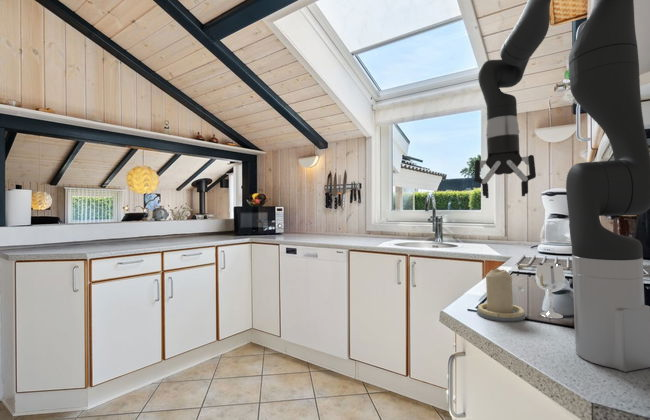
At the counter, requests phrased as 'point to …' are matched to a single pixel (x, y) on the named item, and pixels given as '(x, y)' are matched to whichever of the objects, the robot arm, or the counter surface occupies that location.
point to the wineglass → (550, 283)
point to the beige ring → (501, 314)
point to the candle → (499, 291)
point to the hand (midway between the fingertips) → (504, 197)
